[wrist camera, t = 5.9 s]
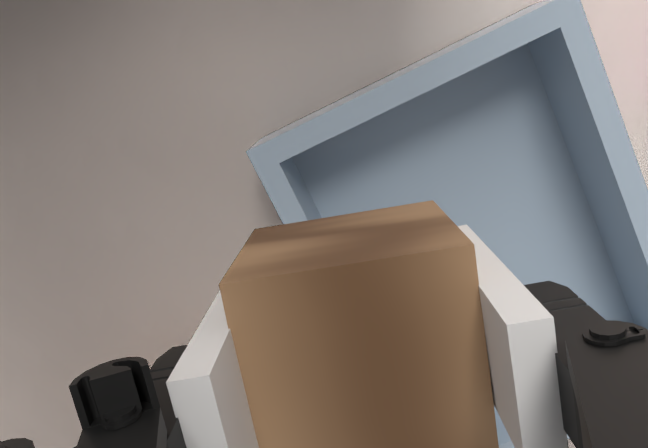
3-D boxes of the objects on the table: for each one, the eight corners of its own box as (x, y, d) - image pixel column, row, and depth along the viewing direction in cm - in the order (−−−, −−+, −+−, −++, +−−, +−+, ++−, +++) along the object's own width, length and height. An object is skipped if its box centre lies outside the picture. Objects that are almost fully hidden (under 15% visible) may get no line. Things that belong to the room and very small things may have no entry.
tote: (261, 138, 28) (245, 151, 24) (532, 4, 27) (576, -11, 22) (410, 431, 32) (423, 495, 27) (655, 332, 31) (715, 381, 26)
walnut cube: (287, 391, 17) (266, 505, 12) (254, 229, 16) (218, 284, 11) (455, 366, 17) (501, 474, 12) (432, 199, 16) (473, 244, 11)
